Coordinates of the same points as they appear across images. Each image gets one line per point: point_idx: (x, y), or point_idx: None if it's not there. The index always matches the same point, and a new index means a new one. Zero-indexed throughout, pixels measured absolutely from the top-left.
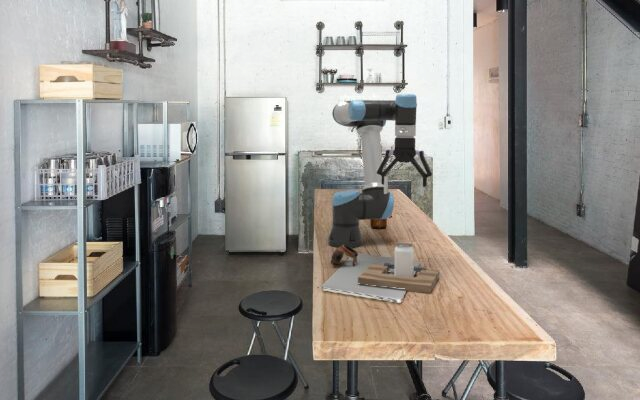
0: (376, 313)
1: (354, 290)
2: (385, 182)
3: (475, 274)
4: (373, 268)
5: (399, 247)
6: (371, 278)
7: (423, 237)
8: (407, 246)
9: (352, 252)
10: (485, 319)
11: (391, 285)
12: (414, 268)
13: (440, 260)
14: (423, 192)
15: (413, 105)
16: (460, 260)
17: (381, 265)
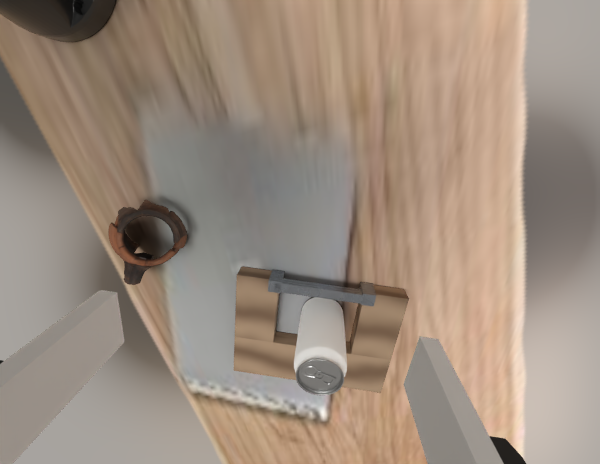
0: (297, 454)
1: (241, 384)
2: (28, 436)
3: (506, 246)
4: (248, 313)
5: (308, 389)
6: (261, 372)
7: None
8: (329, 379)
9: (165, 256)
10: None
11: None
12: (345, 299)
13: (425, 122)
14: (446, 361)
15: None
16: (497, 102)
17: (261, 287)
